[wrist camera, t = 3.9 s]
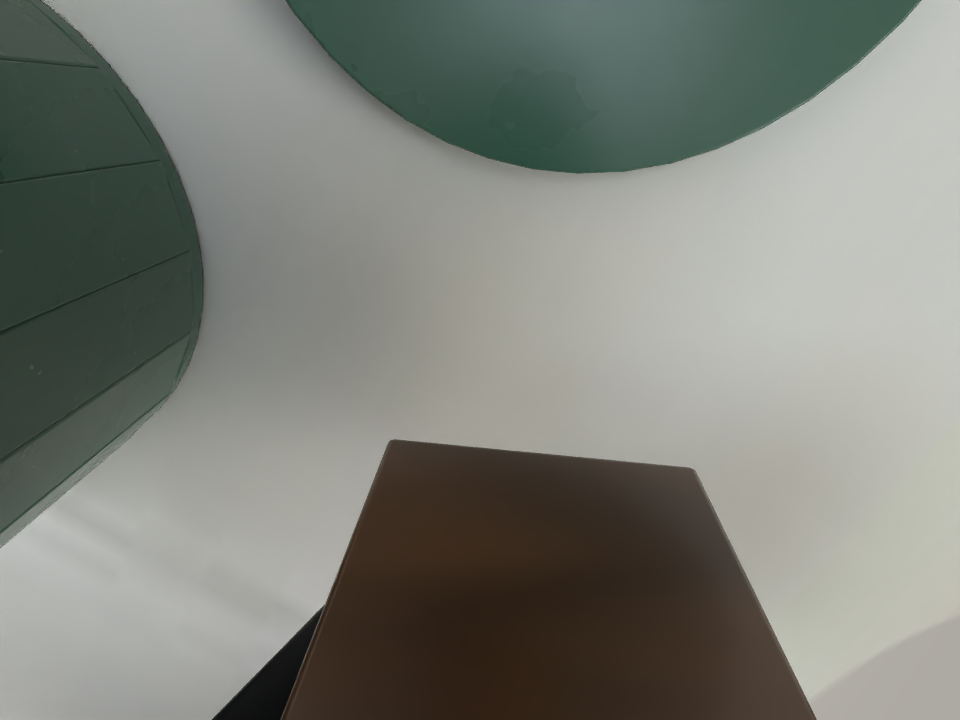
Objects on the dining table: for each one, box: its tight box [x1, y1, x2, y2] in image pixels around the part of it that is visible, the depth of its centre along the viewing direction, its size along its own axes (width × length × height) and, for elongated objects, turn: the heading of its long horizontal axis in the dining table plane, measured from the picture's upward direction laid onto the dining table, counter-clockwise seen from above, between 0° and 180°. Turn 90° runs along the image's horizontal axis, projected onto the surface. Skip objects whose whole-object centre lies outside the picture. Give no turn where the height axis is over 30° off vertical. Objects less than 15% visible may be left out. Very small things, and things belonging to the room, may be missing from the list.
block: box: [280, 439, 816, 720], centre depth 7 cm, size 4×4×4 cm
